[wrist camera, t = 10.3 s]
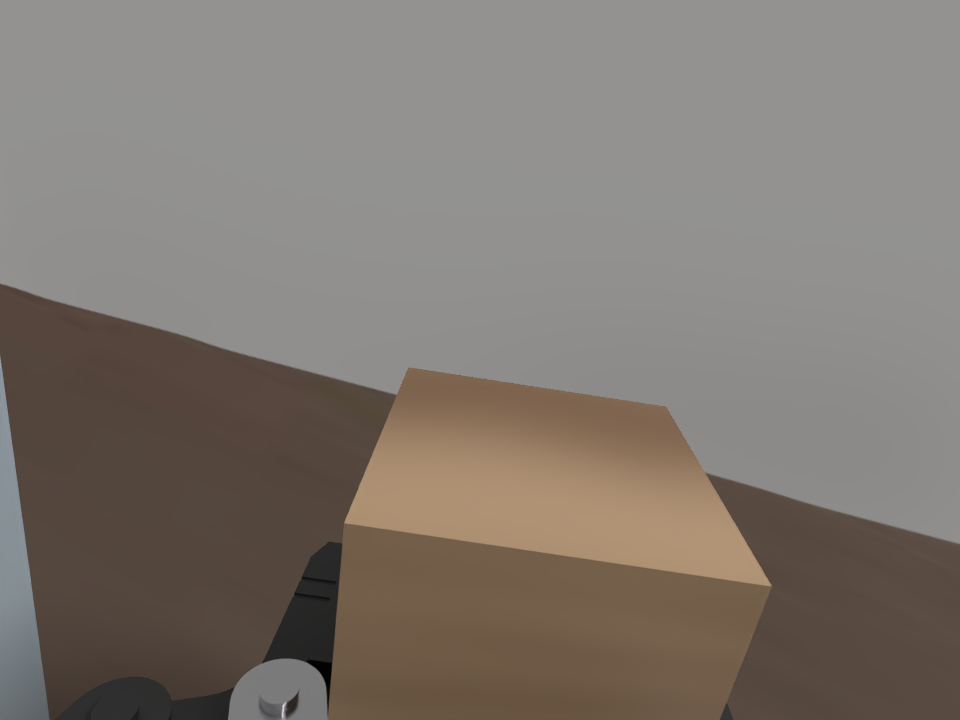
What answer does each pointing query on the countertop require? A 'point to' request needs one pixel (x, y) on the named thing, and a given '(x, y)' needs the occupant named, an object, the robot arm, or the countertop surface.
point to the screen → (16, 598)
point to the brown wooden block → (537, 564)
